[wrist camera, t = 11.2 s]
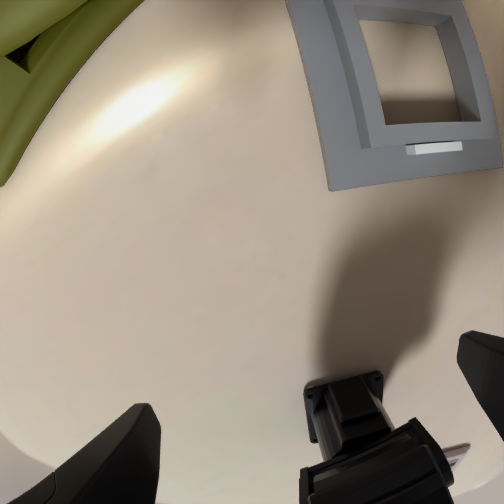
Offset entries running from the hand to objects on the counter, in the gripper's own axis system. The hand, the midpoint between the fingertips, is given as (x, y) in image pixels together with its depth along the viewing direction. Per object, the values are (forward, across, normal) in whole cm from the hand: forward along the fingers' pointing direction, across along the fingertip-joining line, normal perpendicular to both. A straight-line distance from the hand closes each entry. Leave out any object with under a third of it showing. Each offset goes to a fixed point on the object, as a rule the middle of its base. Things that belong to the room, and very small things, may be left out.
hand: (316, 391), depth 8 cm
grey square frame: (+13, -12, -11) cm, 21 cm away
